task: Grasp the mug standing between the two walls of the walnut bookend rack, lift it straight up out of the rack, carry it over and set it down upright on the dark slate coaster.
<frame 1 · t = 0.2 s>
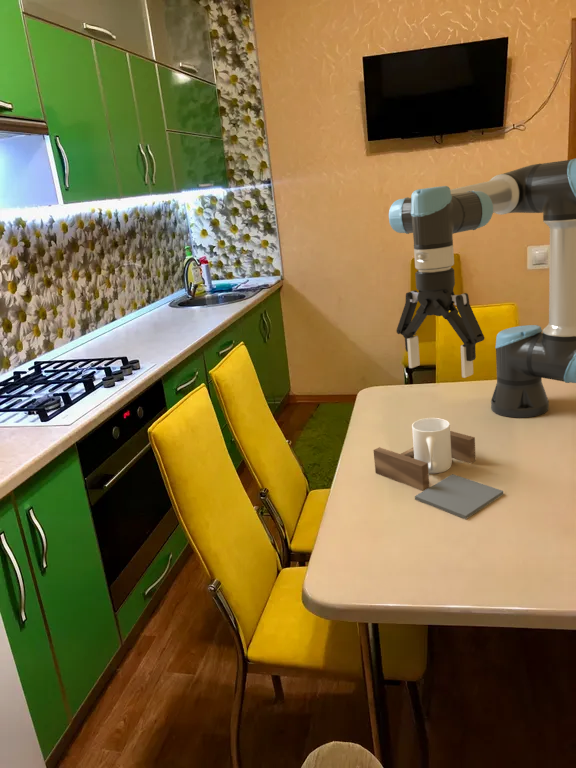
hand: (439, 371, 128), 27 cm above the table, fingers open, 13 cm apart
rack: (433, 469, 145), on the table
mug: (433, 470, 145), on the table
coaster: (458, 496, 131), on the table
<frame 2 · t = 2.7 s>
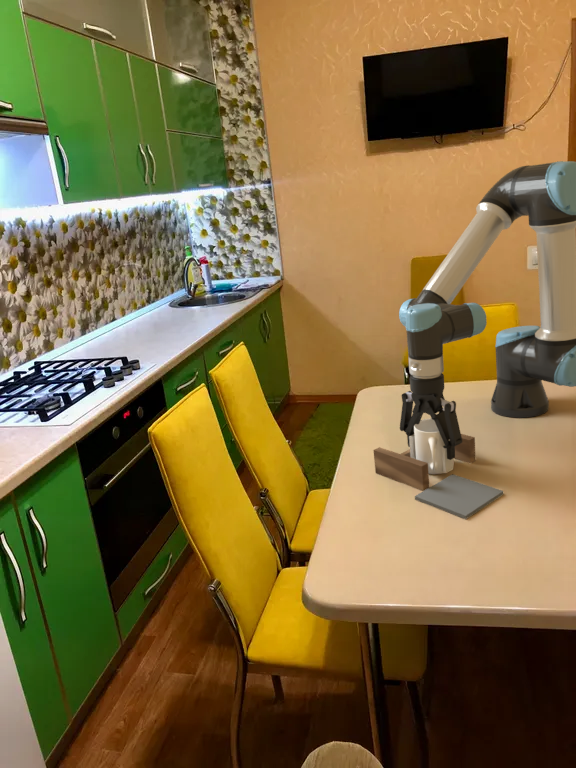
hand: (431, 465, 145), 1 cm above the table, fingers closed on mug, 9 cm apart
mug: (435, 470, 144), on the table, touching gripper
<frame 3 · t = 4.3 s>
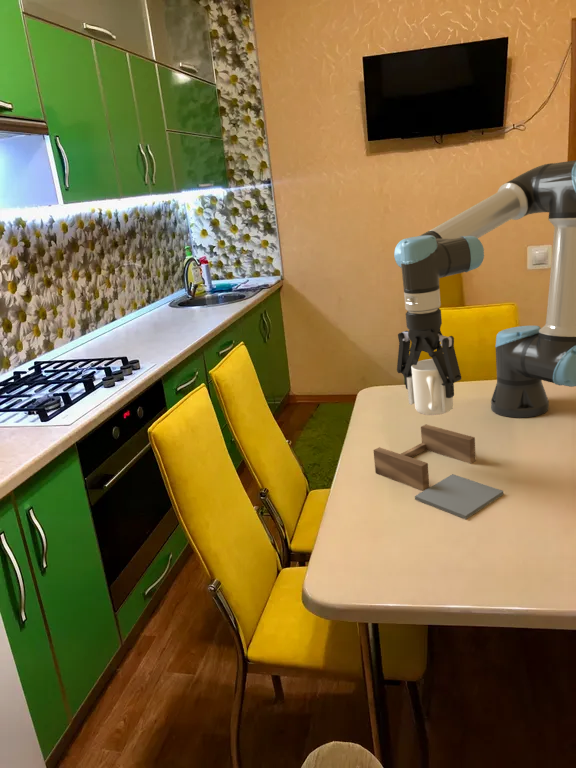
hand: (430, 406, 140), 16 cm above the table, fingers closed on mug, 9 cm apart
mug: (434, 412, 140), point 14 cm above the table, touching gripper
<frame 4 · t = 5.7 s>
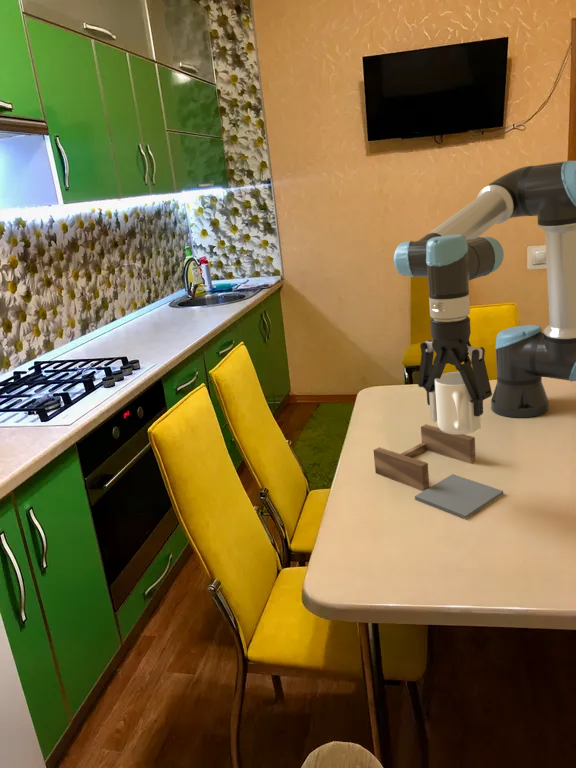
hand: (455, 424, 126), 17 cm above the table, fingers closed on mug, 9 cm apart
mug: (459, 431, 126), point 15 cm above the table, touching gripper
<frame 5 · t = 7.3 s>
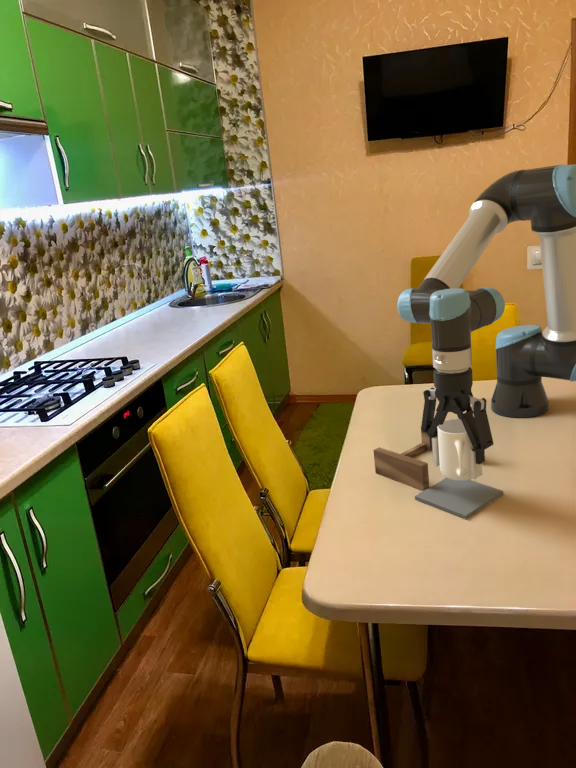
hand: (457, 470, 129), 6 cm above the table, fingers closed on mug, 9 cm apart
mug: (461, 477, 129), point 5 cm above the table, touching gripper
when the fingers open (3 cm above the table, at t = 8.5 s): mug stays where it is, resting on coaster.
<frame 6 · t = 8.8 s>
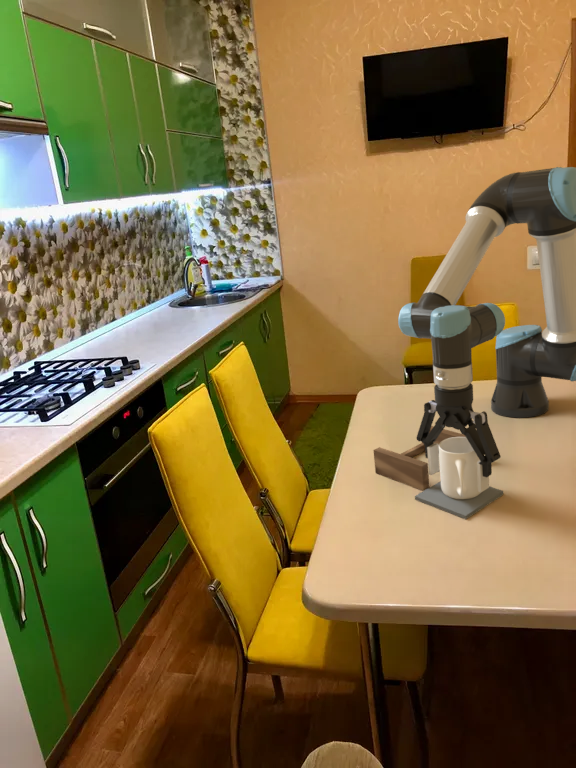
hand: (458, 480, 130), 4 cm above the table, fingers open, 12 cm apart
mug: (461, 495, 131), point 1 cm above the table, touching coaster
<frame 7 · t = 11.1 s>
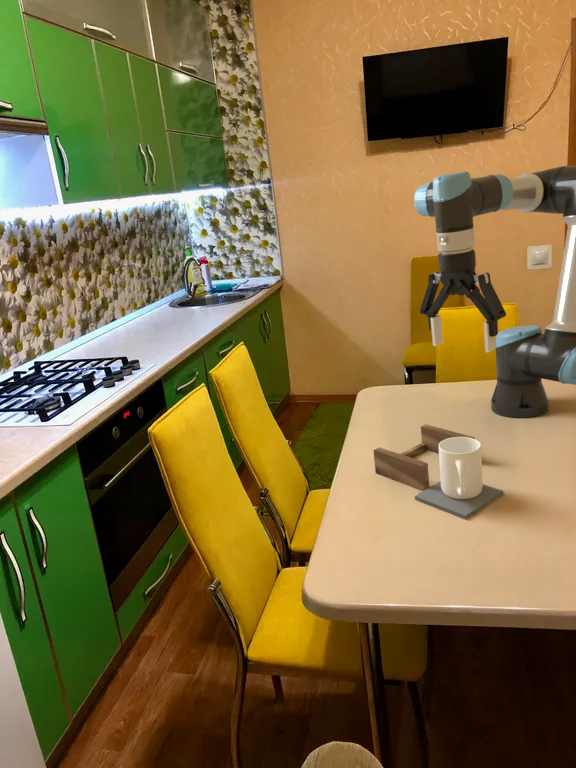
hand: (463, 347, 136), 29 cm above the table, fingers open, 13 cm apart
nothing on the table moved.
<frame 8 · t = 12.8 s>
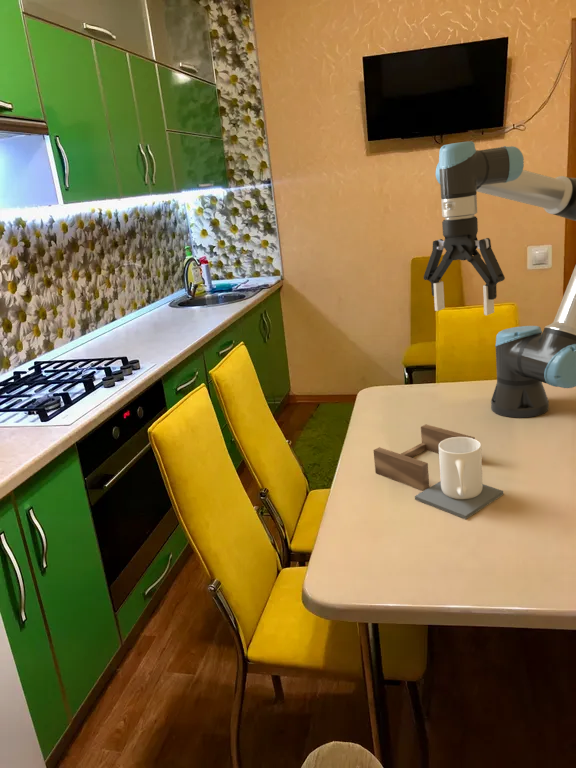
hand: (463, 311, 142), 35 cm above the table, fingers open, 13 cm apart
nothing on the table moved.
at the end: mug inside the target area on the coaster (0.8 cm from its centre), point 0.6 cm above the coaster's base; mug tilted 0°; the gripper is holding nothing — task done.
